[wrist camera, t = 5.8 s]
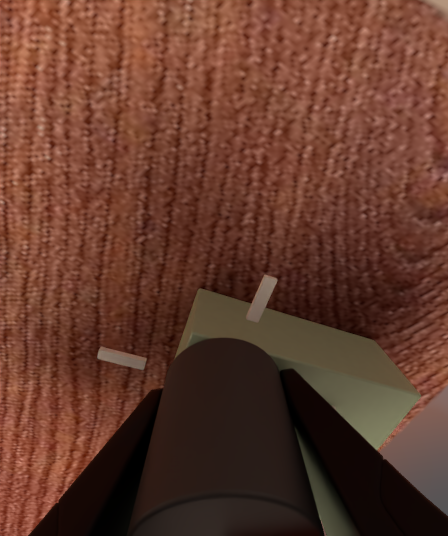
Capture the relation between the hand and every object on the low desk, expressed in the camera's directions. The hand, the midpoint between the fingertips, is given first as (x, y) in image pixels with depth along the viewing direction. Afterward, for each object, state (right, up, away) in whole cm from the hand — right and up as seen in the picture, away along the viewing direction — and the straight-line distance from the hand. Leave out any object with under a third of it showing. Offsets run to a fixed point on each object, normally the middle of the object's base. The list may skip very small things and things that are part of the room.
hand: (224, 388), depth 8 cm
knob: (0, 0, 0) cm, 0 cm away
